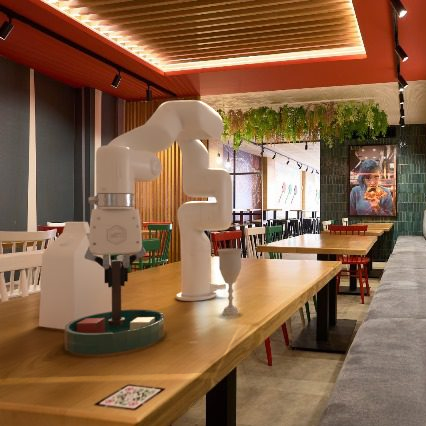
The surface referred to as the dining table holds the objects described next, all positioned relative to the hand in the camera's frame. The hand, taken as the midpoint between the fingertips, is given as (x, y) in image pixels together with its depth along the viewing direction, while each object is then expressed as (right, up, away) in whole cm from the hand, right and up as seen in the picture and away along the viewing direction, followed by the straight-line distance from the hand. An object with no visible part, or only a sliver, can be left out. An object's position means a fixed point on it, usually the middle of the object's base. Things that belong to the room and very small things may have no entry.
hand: (116, 285), depth 88 cm
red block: (-6, -12, 0) cm, 13 cm away
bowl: (0, -12, 0) cm, 12 cm away
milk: (-17, -13, +13) cm, 25 cm away
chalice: (+21, -12, +21) cm, 32 cm away
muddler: (0, -9, 0) cm, 9 cm away
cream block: (+6, -12, +1) cm, 13 cm away
